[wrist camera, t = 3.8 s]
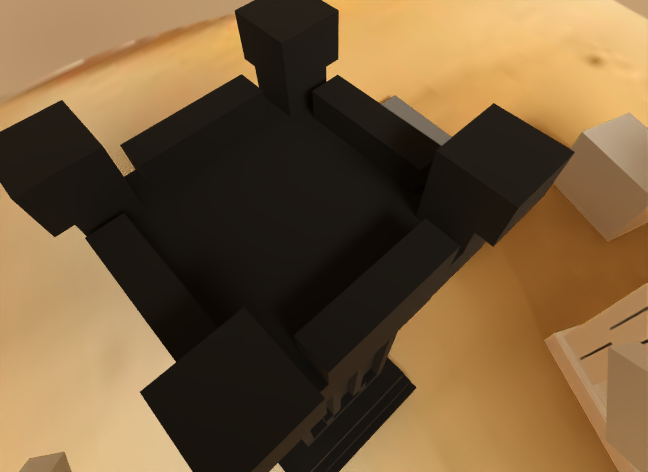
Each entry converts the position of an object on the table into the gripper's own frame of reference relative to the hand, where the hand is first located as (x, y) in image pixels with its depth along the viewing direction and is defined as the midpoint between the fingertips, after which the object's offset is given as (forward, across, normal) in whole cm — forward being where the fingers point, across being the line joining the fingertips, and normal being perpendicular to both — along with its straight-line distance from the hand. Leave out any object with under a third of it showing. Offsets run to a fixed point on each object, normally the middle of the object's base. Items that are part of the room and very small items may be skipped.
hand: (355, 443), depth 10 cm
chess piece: (+13, -1, -7) cm, 15 cm away
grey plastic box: (+20, +22, 0) cm, 29 cm away
